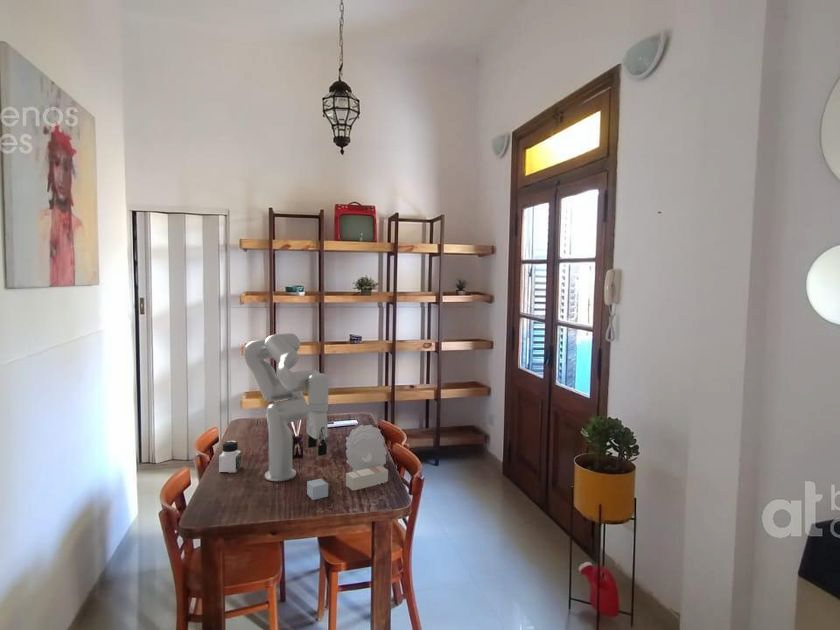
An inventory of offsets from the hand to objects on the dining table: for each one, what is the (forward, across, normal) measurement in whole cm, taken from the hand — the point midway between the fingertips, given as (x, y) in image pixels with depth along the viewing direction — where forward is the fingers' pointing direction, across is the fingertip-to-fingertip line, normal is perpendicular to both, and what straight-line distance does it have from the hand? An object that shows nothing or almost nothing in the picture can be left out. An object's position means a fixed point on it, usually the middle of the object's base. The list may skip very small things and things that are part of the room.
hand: (317, 450), depth 187 cm
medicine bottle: (+18, -43, -22) cm, 52 cm away
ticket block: (+17, +1, +22) cm, 28 cm away
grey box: (+17, +1, 0) cm, 17 cm away
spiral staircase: (+18, -15, +29) cm, 37 cm away
